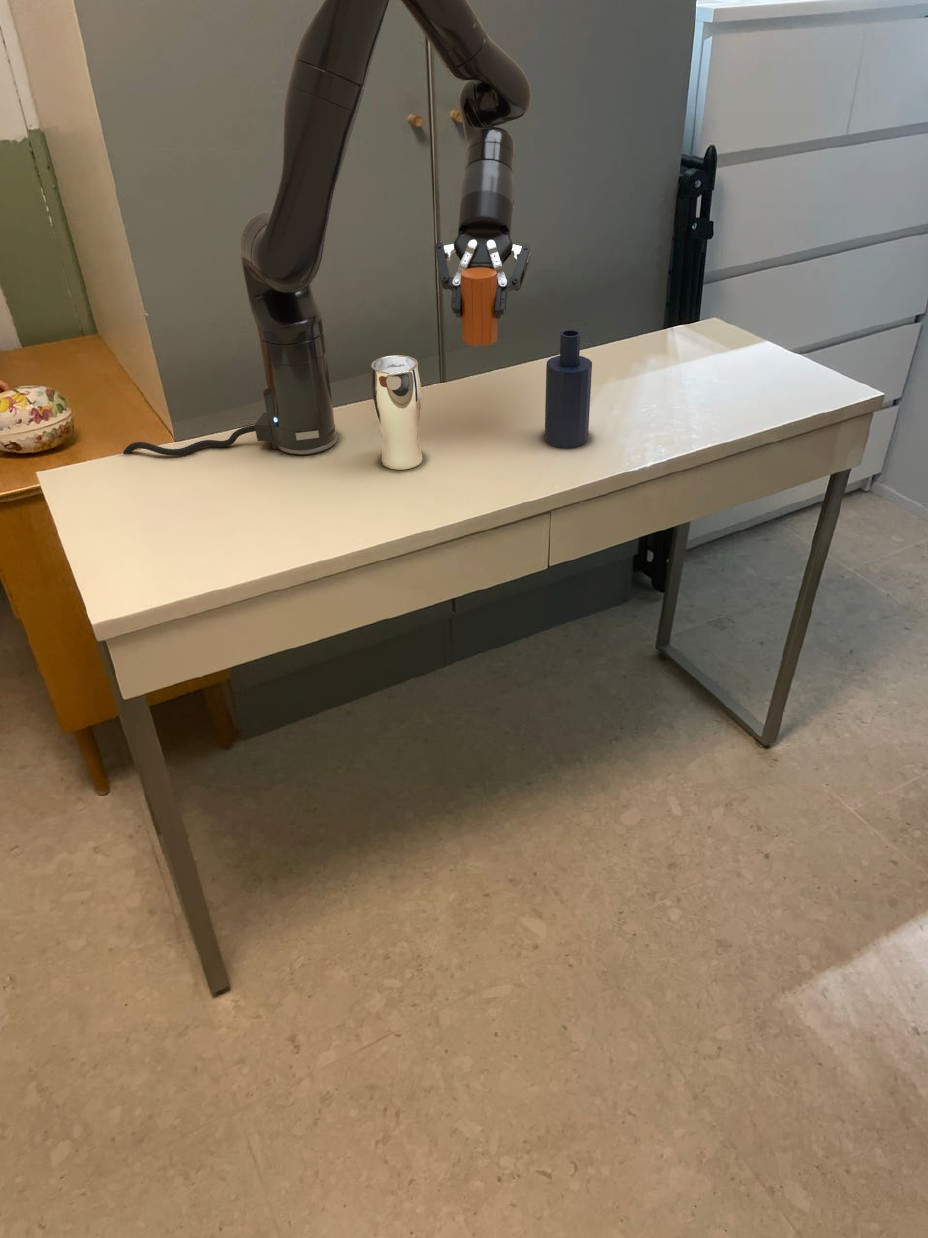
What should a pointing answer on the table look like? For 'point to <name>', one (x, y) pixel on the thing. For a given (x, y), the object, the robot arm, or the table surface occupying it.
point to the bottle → (568, 394)
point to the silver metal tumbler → (398, 409)
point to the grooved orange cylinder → (479, 306)
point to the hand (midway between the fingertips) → (478, 315)
